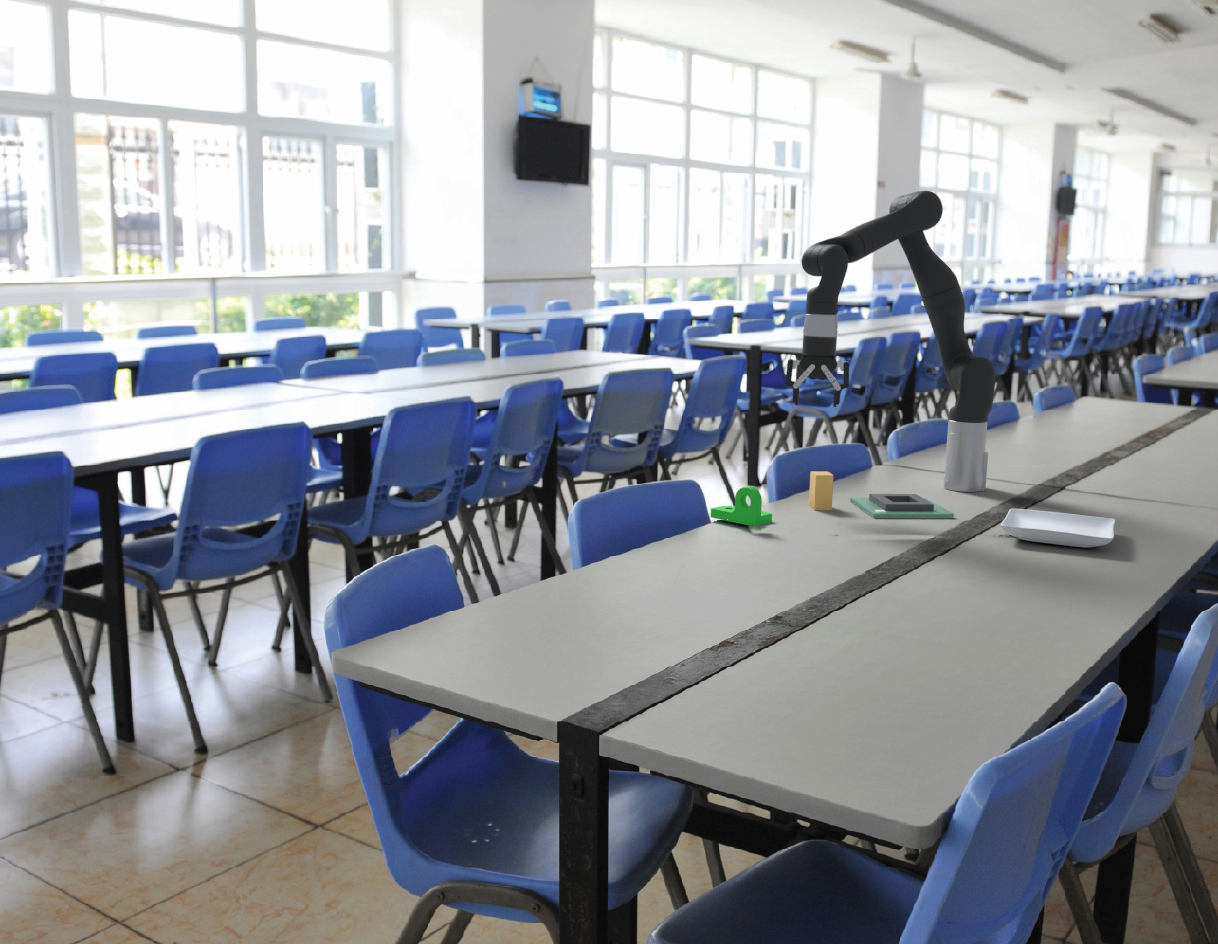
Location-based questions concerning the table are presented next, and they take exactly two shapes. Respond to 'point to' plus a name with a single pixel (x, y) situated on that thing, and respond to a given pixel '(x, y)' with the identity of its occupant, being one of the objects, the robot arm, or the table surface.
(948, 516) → the socket board
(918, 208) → the robot arm
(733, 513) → the mechanical part
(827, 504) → the amber plug
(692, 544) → the table surface
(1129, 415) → the table surface
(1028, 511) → the salad plate
